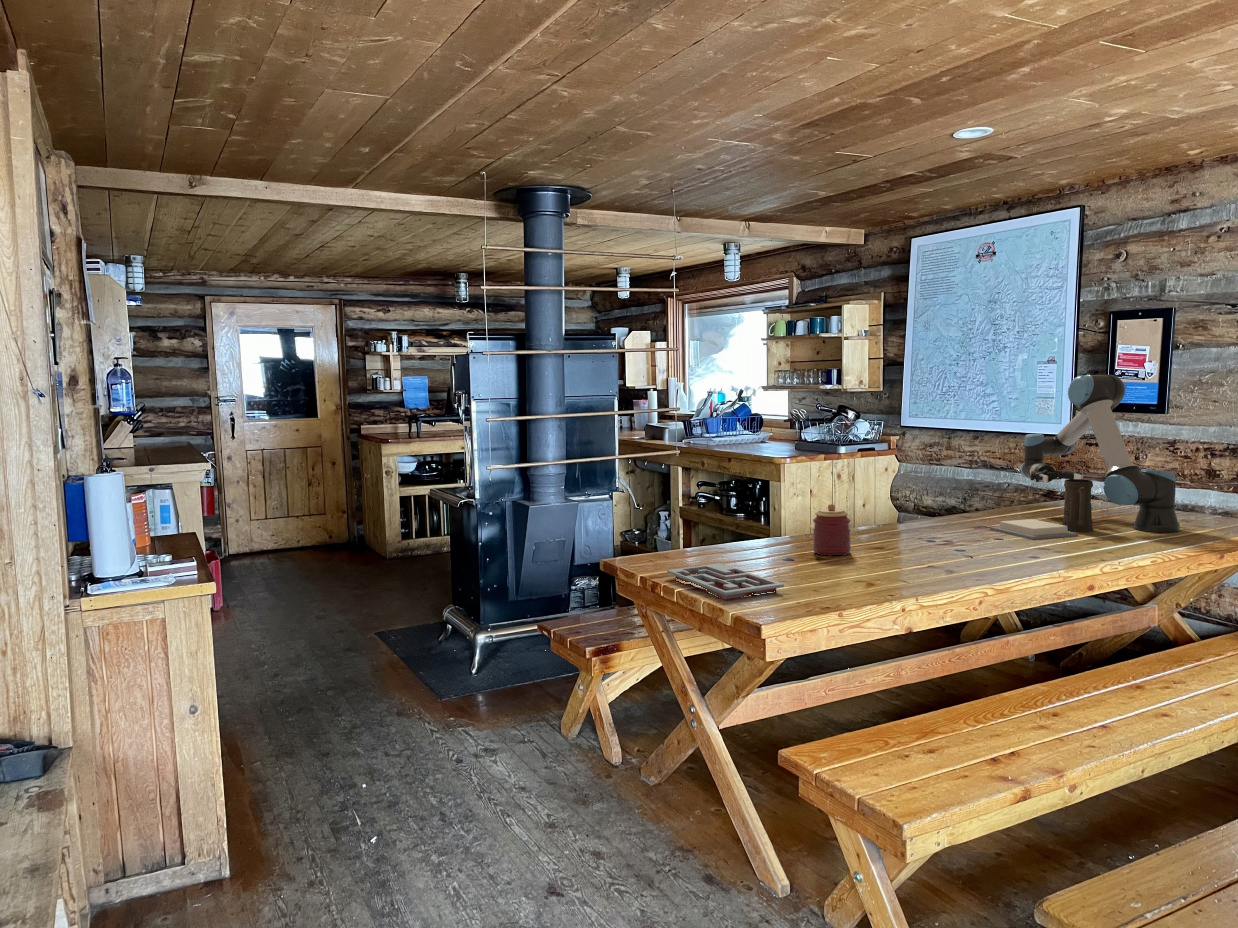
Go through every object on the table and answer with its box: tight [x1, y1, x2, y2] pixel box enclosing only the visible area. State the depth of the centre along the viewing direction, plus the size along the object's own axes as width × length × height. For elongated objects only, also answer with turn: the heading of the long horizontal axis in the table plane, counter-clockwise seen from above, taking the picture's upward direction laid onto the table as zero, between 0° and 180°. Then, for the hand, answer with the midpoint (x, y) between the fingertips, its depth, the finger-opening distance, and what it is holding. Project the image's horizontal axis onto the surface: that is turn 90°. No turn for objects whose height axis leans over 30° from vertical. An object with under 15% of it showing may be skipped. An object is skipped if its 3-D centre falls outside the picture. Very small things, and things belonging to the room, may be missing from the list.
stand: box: [989, 518, 1079, 540], centre depth 341 cm, size 20×24×4 cm
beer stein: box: [1062, 478, 1094, 533], centre depth 341 cm, size 15×11×20 cm
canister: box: [812, 503, 852, 557], centre depth 312 cm, size 13×13×18 cm
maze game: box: [666, 562, 785, 601], centre depth 268 cm, size 35×20×3 cm, turn 25°
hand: (1064, 479), depth 353 cm, fingers open, 13 cm apart
